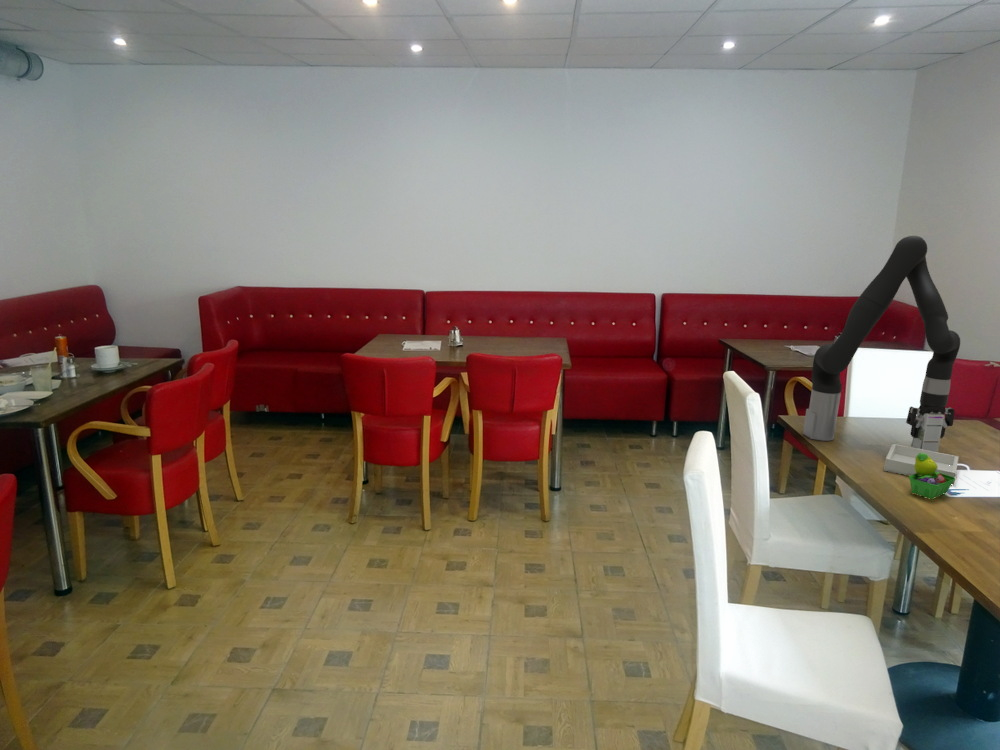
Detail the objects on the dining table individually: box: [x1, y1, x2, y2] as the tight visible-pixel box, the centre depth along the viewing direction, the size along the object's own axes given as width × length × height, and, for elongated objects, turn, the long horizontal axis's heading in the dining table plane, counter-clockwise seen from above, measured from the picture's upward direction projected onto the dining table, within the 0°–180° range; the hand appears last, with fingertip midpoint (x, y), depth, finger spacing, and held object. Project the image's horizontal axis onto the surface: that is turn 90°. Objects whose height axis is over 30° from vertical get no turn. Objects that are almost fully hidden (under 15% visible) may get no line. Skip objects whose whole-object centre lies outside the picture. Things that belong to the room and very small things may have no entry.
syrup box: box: [910, 412, 945, 452], centre depth 217 cm, size 6×6×14 cm
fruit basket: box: [908, 453, 956, 500], centre depth 185 cm, size 11×9×11 cm
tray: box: [883, 443, 959, 485], centre depth 203 cm, size 18×18×4 cm
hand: (926, 437), depth 218 cm, fingers open, 8 cm apart
